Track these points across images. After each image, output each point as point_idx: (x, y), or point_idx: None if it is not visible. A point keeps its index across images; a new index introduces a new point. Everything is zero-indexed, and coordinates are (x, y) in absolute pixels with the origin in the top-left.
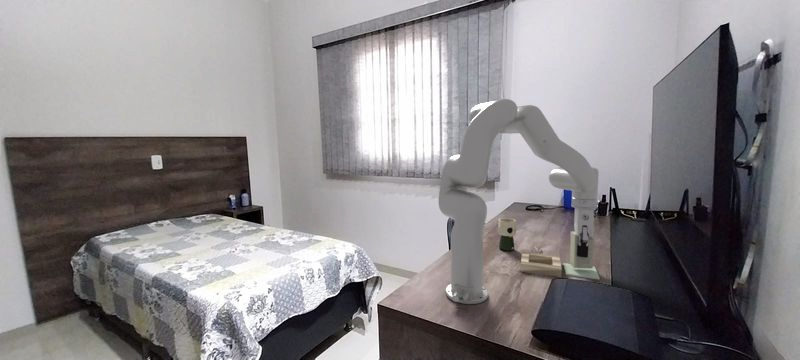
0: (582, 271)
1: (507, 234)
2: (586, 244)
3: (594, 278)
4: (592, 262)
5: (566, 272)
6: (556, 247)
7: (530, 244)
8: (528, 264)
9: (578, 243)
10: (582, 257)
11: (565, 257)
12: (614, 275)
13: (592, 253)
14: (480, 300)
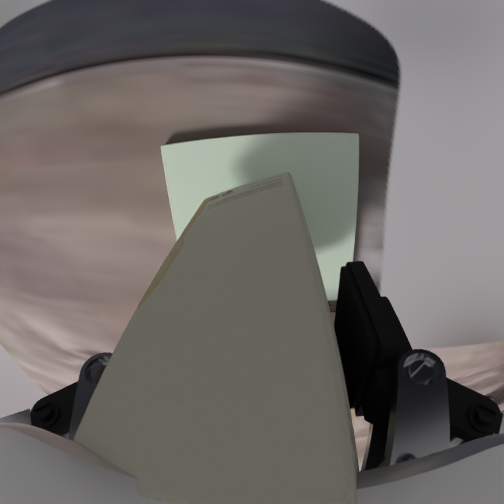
0: None
1: None
2: (464, 386)
3: (357, 161)
4: (293, 187)
5: (334, 296)
6: (20, 300)
7: (60, 368)
8: (357, 417)
9: (372, 427)
10: (323, 284)
11: (89, 281)
12: (237, 39)
13: (305, 224)
14: (494, 401)
